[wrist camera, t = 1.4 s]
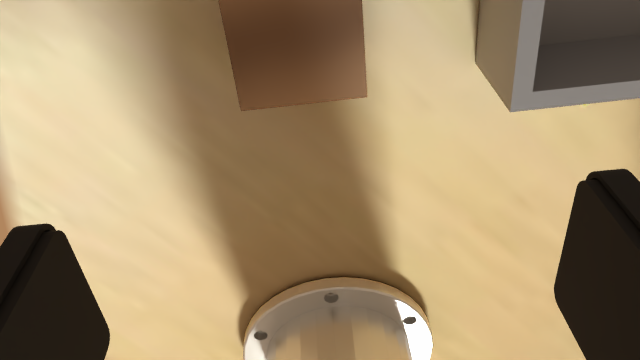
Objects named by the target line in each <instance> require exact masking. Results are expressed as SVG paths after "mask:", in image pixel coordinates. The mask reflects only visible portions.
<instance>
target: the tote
mask: <svg viewBox="0 0 640 360" xmlns="http://www.w3.org/2000/svg"><path fill="white" fill-rule="evenodd" d="M476 65H477V66H478V67H479V69H480V70H481V72H482V73H483V75H484V76H485V77H486V79H487V80H488V82H489V83H490V84H491V86H492V87H493V89H494V90H495V91H496V93H497V94H498V96H499V97H500V99H501V100H502V101H503V103H504V104H505V106H506V107H507V108H508V110H509V111H510V112H516V111H526V110H535V109H544V108H553V107H562V106H572V105H581V104H590V103H599V102H608V101H618V100H627V99H636V98H640V0H480V6H479V20H478V35H477V50H476Z"/></svg>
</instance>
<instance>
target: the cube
mask: <svg viewBox="0 0 640 360" xmlns="http://www.w3.org/2000/svg"><path fill="white" fill-rule="evenodd" d="M219 5H220V10H221V15H222V20H223V25H224V30H225V35H226V40H227V45H228V49H229V54H230V59H231V64H232V69H233V74H234V79H235V84H236V89H237V94H238V98H239V103H240V108H241V111H245V110H254V109H263V108H272V107H281V106H291V105H300V104H309V103H318V102H327V101H336V100H345V99H354V98H363V97H367V84H366V66H365V48H364V29H363V11H362V0H219Z"/></svg>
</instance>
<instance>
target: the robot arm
mask: <svg viewBox="0 0 640 360" xmlns="http://www.w3.org/2000/svg"><path fill="white" fill-rule="evenodd" d="M554 294H555V299H556V302H557V305H558V307H559V309H560V311H561V313H562V314H563V316H564V318H565V320H566V322H567V324H568V326H569V328H570V330H571V331H572V333H573V335H574V337H575V339H576V341H577V343H578V345H579V347H580V349H581V350H582V352H583V354H584V356H585V358H586V360H640V182H639V181H638V180H637V178H636V177H635V176H634V175H633V174H632V173H631V172H630V171H628V170H626V169H616V170H606V171H595V172H591V173H590V174H589V175H588V176H587V178H586V180H585V181H581V182H579V184H578V186H577V189H576V193H575V197H574V202H573V206H572V210H571V215H570V219H569V224H568V228H567V232H566V237H565V241H564V245H563V250H562V254H561V258H560V263H559V267H558V271H557V276H556V280H555V285H554ZM109 341H110V333H109V328H108V325H107V323H106V321H105V319H104V317H103V314H102V312H101V310H100V308H99V306H98V304H97V302H96V299H95V297H94V295H93V293H92V291H91V289H90V287H89V284H88V282H87V280H86V278H85V276H84V274H83V272H82V269H81V267H80V265H79V263H78V261H77V259H76V257H75V254H74V252H73V250H72V248H71V246H70V244H69V242H68V239H67V237H66V235H65V234H64V233H63V232H62V231H59V230H58V231H56V230H55V228H54V227H53V226H52V225H51V224H37V225H27V226H17V227H15V228H13V229H12V230H11V231H10V232H9V234H8V235H7V237H6V239H5V240H4V242H3V243H2V245H1V246H0V360H104V359H105V356H106V353H107V350H108V346H109ZM432 348H433V340H432V333H431V329H430V326H429V323H428V319H427V317H426V315H425V313H424V312H423V310H422V309H421V307H420V306H419V305H418V304H417V303H416V302H415V301H414V300H413V299H412V298H411V297H410V296H408V295H406V294H405V293H403V292H402V291H400V290H398V289H397V288H394V287H391V286H389V285H386V284H384V283H381V282H377V281H372V280H368V279H363V278H348V277H339V278H325V279H320V280H315V281H310V282H306V283H303V284H300V285H297V286H295V287H292V288H289V289H287V290H285V291H283V292H281V293H280V294H278V295H276V296H274V297H273V298H271V299H270V300H269V301H268V302H266V303H265V304H264V305H263V306H261V307H260V309H259V310H258V311H257V312H256V313H255V315H254V316H253V317H252V318H251V320H250V323H249V325H248V327H247V329H246V332H245V338H244V350H243V358H244V360H429V359H430V357H431V353H432Z"/></svg>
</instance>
